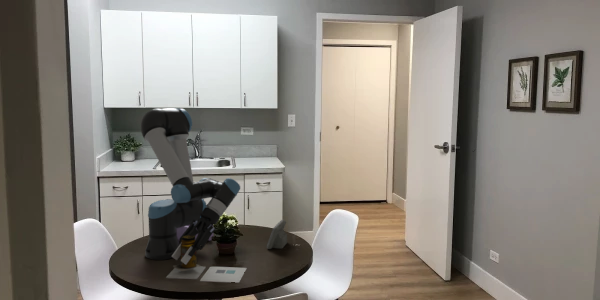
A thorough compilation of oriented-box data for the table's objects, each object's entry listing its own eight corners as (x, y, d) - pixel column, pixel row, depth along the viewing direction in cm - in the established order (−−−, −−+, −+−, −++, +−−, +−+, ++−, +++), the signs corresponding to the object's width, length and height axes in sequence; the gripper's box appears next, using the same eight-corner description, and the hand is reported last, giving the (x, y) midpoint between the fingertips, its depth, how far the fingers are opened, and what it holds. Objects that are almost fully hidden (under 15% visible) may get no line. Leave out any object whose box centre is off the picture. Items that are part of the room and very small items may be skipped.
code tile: (199, 282, 177) (199, 280, 177) (210, 267, 192) (210, 266, 192) (239, 283, 176) (239, 282, 176) (246, 269, 191) (246, 267, 191)
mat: (166, 278, 180) (166, 276, 180) (177, 266, 192) (177, 265, 192) (197, 279, 179) (197, 278, 179) (205, 267, 191) (205, 266, 191)
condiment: (201, 266, 185) (200, 236, 184) (181, 271, 180) (181, 241, 178) (191, 261, 191) (190, 232, 189) (172, 266, 185) (171, 237, 184)
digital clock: (276, 239, 230) (276, 218, 229) (293, 241, 227) (293, 220, 225) (260, 248, 216) (260, 226, 214) (277, 251, 212) (278, 228, 211)
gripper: (232, 221, 187) (198, 271, 178) (205, 213, 201) (172, 259, 191) (221, 210, 183) (185, 261, 173) (194, 202, 196) (159, 249, 187)
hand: (178, 260), depth 182 cm, fingers closed on condiment, 6 cm apart
